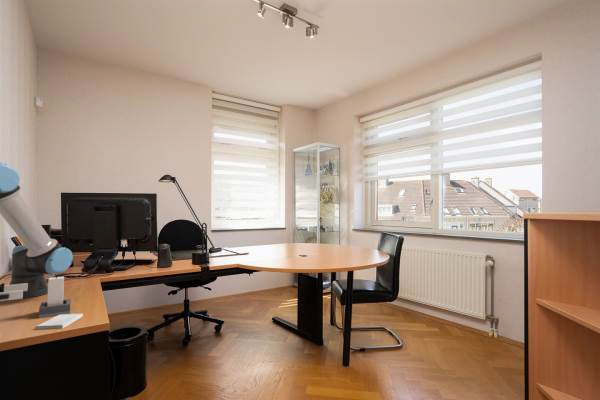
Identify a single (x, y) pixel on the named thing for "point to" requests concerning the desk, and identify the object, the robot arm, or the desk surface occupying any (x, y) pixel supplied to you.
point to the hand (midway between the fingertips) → (25, 290)
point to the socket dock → (54, 309)
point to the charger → (55, 291)
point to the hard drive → (59, 321)
